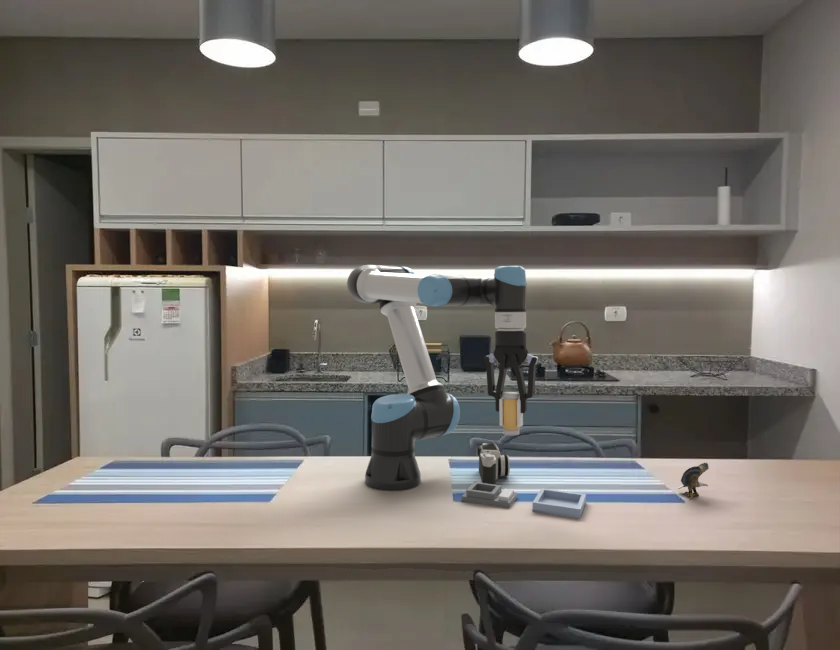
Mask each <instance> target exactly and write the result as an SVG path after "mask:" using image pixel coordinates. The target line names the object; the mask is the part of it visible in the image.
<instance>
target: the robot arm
mask: <svg viewBox="0 0 840 650" xmlns="http://www.w3.org/2000/svg"><path fill="white" fill-rule="evenodd" d="M526 277H527V276H526V268H524V267H523V266H521V265H501V266H497V267H495V269H494V274H493V275H484V276H479V275H478V276H474V275H449V274H447V275H445V274H436V273H435V274H429V273H428V274H427V273H416V272H415V271H414V270H413V269H412V268H410V267H408V266H403V265H402V266H401V265H398V264H397V265H381V264H365V265H360V266H358V267H355V268H354V269H352V271H351V272H350V274H349V276H348V278H347V282H346V287H347V291H348V293H349V295H350V296H351V297H352V299H354V300H355V301H357V302H359V303H362V304H373V305H374V304H378V307H379V310H380V313H381V315H384V316H386V317H387V319H388V323H389V327H390V330H391V333H392V338H393V340H394V345H395V348H396V352H397V354H398V358H399V361H400V364H401V367H402V371H403V374H404V378H405V382H406V384H407V387H408V390H407V393H397V394H394V393H393V394H389V395H384V396H380V397H379V398H377V399H376V400H375V401H374V402H373V404H372V407H371V416H370V419H371V456H370V459H369V462H368V465H367V468H366V471H365V474H364V484H365V485H366V486H367V487H369V488H371V489H374V490H378V491H387V492H397V491H407V490H411V489H414V488H417V487H419V485H420V484H421V482H422V480H421V477H422V476H421V474H422V473H421V472H420V468H419V465H418V461H417V459H416V455H415V443H416V442H415V441H421V440H427V439H431V438H441V437H442V436H446V435H449V434H451V433H453V432H454V431H455V429H456V428H457V426H458V425H459V421H460V418H461V417H460V415H461V409H460V408H461V407H460V404H459V402H458V400H457V398H456V397H455V396H454V395H452V394H451V393H448V392H447V391H446V388H445V385H444V384H443V383H441V382H439V381H438V380H437V378H436V377H437V376H436V373H435V370H434V367H433V364H432V361H431V357H430V354H429V351H428V348H427V345H426V341H425V339H424V336H423V332H422V329H421V328H422V327H421V326H420V321H419V320H418V316H417V313H416V309H415V308H416V306H417V304H422V305H424V306H429V307H434V308H435V307H436V308H441V307H461V306H462V307H483V306H484V307H485V306H487V307H488V306H489V307H490V306H494V328H495V329H497V330H496V331H495V332H494V339H495V340H494V350H493V352H492V353H491V354H488V355H484V356H483V361H484V364H485V368H486V385H487V386H486V387H487V395H488V396H490V397H493V398H494V400H495V411H496V412H499V413H498V415H499V427H503V392H504V388H505V383H506V376H507V371H508V369H509V368H510V369H513V372H514V374H515V379H516V385H517V389H518V393H519V399H518V400H517V427H519V428H521V427H523V425H524V414H526V413H527V410H528V399H530V398H533V397H534V396H535V391H536V374H537V372H536V371H537V369H536V368H537V364H538V362H539V356H537V355H535V356H534V355H533V354H530V353H529V351H528V349H527V332H526V330H525V329H526V328H527V308H526V307H527V306H526V305H527V302H526V301H527V299H526V297H527V278H526ZM495 359H496V361H497V362H498V364H499V368H498V375H497V376H498V377H497V382H495V381H496V380H495V379H496V378H495V366H494V362H495ZM526 360H527V363H528V370H527V371H528V375H527V387H526V383H525V376H524V372H523V370H524V369H523V364H524V363H525V361H526Z"/></svg>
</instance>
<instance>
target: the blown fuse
mask: <svg viewBox="0 0 840 650" xmlns="http://www.w3.org/2000/svg"><path fill="white" fill-rule="evenodd" d="M502 398H503V426H502V434H503V435H505V436H519V435H520V427H517V400H518V399H519V398H520V395H519V391H505V392H504V391H503V396H502Z"/></svg>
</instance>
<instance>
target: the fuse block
mask: <svg viewBox="0 0 840 650" xmlns="http://www.w3.org/2000/svg"><path fill="white" fill-rule="evenodd" d="M517 499H518V492H515V490H514V489H512V488H503V489H502V485H501V484H496V485H494V484H487V483H482V482H479V481H477V482H476V481H474V482H473V483H472V484H471V485H470V486H469V487H468V488H467V489H466V491H465V492H464V493H463V495H462V496H461V501H462V502H466V503H471V504H477V505H484V506H493V507H498V508H499V507H501V508H506V509H510V508H511V507H512V505H513V504H514V503H515V502H516V500H517Z"/></svg>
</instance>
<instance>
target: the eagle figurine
mask: <svg viewBox="0 0 840 650" xmlns="http://www.w3.org/2000/svg"><path fill="white" fill-rule="evenodd" d="M709 469H710V468H709V463H708V462H703V463H700V464H698V465H697V466H692V467H689V468H688V469H686V470H685V471H684V472H683V473H682V476H681V479H680V482H681V484H682V485H681V486H678V487H677V490H679V489H682V488H687V490H688V491H685V492H684V493H682V495H683V496H684V495H685V497H688V498H689V499H688V501H691V499H692V500H693V499H694V497H696V496H700V494H699V493H698V491H697V489H696V488H700V487H708V486H709V485H708V484H707V483H705V482H701V481H699V478H700V476H702V474H704V473H705V472H706V471H708V470H709Z"/></svg>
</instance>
